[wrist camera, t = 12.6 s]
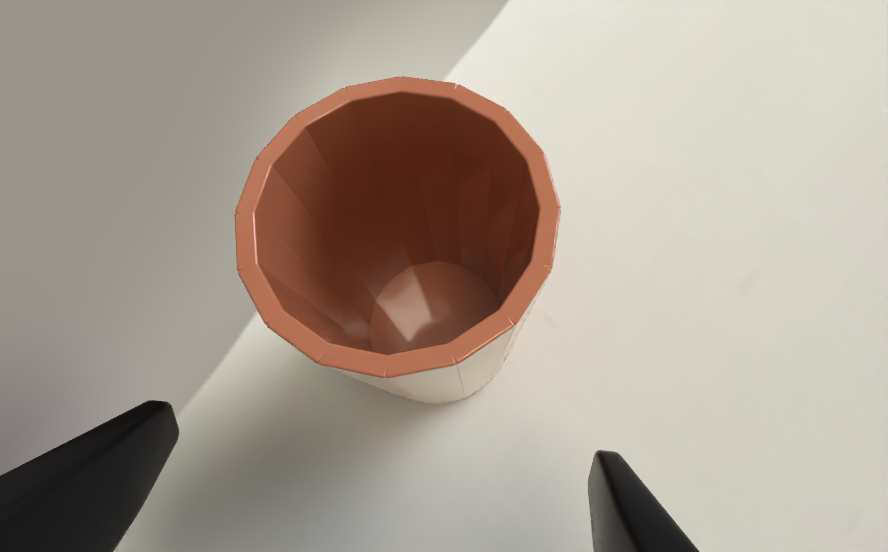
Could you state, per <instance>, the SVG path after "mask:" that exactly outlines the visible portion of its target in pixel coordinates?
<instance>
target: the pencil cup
mask: <svg viewBox="0 0 888 552" xmlns="http://www.w3.org/2000/svg"><path fill="white" fill-rule="evenodd" d="M560 213H561V210H560V203H559V200H558V196H557V193H556V190H555V186H554V183H553V179H552V176H551V173H550V169H549V166H548V163H547V159H546V156H545V154H544V153H543V150H542V149H541V148H540V147H539V146H538V145H537V143H536V142H535V141H534V140H533V139H532V138H531V136H530V135H529V134H528V133H527V132H526V131H525V129H524V128H523V127H522V126H521V125H520V124H519V122H518V121H517V120H516V119H515V118H514V117H513V115H512V114H511V113H510V112H509V111H507V109H505V108H504V107H502V106H500V105H498V104H496V103H494V102H492V101H490V100H488V99H486V98H484V97H482V96H480V95H478V94H477V93H475V92H473V91H471V90H469V89H467V88H465V87H463V86H461V85H457V84H456V83H449V82H441V81H434V80H426V79H419V78H411V77H404V76H403V77H394V78H389V79H384V80H379V81H374V82H368V83H363V84H359V85H353V86H348V87H346V88H342V89H340V90H339V91H337V92H335V93H333V94H332V95H330V96H328V97H326V98H324V99H322V100H321V101H319V102H317V103H315V104H313V105H312V106H310V107H308V108H307V109H305V110H303V111H301V112H299V113H297V114H296V115H295V117H292V118H291V119H290V120H289V121H288V123H287V124H286V125H285V126H284V127H283V128H282V129H281V130H280V131H279V133H278V134H277V135H276V136H275V137H274V138H273V139H272V140H271V142H270V143H269V144H268V145H267V146H266V147H265V148H264V149H263V151H262V152H261V153H260V154H259V155H258V156H257V158H256V160H255V161H254V164H253V166H252V169H251V171H250V174H249V176H248V179H247V182H246V184H245V187H244V190H243V192H242V195H241V197H240V200H239V203H238V206H237V208H236V214H235V231H236V251H237V252H236V254H237V270H238V274H239V276H240V278H241V280H242V282H243V283H244V285H245V287H246V289H247V291H248V293H249V295H250V297H251V299H252V300H253V302H254V304H255V306H256V308H257V310H258V312H259V314H260V316H261V318H262V319H263V321H264V323H265V324H266V325H267V327H268V328H270V329H271V330H272V331H274V332H275V333H276V334H278V335H279V336H280V337H282V338H283V339H284V340H286V341H287V342H288V343H290V344H291V345H292V346H294V347H295V348H296V349H298V350H299V351H300V352H302V353H303V354H305V355H306V356H307V357H309V358H310V359H311V360H313V361H314V362H315V363H317V364H320V365H322V366H324V367H327V368H329V369H332V370H335V371H337V372H340V373H342V374H345V375H347V376H350V377H352V378H355V379H357V380H360V381H362V382H365V383H368V384H370V385H373V386H375V387H378V388H380V389H383V390H385V391H388V392H390V393H393V394H395V395H398V396H401V397H403V398H406V399H411V400H415V401H419V402H424V403H429V404H441V403H449V402H454V401H457V400H461V399H464V398H467V397H468V396H470V395H472V394H474V393H475V392H477V391H479V390H480V389H481V388H482V387H484V386H485V385H486V384H487V383H489V382H490V381H491V380H492V379H493V378H494V376H495V375H496V373H497V372H498V370H499V369H500V367H501V365H502V364H503V362H504V361H505V359H506V357H507V356H508V354H509V352H510V350H511V348H512V346H513V344H514V342H515V340H516V339H517V337H518V335H519V333H520V331H521V329H522V327H523V325H524V323H525V321H526V319H527V317H528V315H529V313H530V311H531V309H532V307H533V306H534V304H535V302H536V300H537V298H538V296H539V294H540V292H541V290H542V288H543V286H544V284H545V282H546V280H547V278H548V276H549V274H550V272H551V269H552V267H553V261H554V254H555V247H556V240H557V234H558V227H559V220H560Z"/></svg>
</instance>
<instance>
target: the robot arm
mask: <svg viewBox="0 0 888 552" xmlns="http://www.w3.org/2000/svg"><path fill="white" fill-rule="evenodd" d="M178 436H179V428H178V424H177V421H176V418H175V415H174V411H173V408H172V406H171V404H169V403H168V402H163V401H153V400H152V401H147V402H145V403H143V404H141V405H139V406H137V407H135V408H133V409H131V410H129V411H127V412H125V413H123V414H121V415H119V416H117V417H115V418H113V419H111V420H109V421H107V422H105V423H103V424H101V425H99V426H98V427H96V428H94V429H92V430H90V431H88V432H86V433H84V434H82V435H80V436H78V437H76V438H74V439H72V440H70V441H68V442H66V443H64V444H62V445H60V446H58V447H56V448H54V449H52V450H50V451H48V452H47V453H44V454H42V455H41V456H39V457H37V458H35V459H33V460H31V461H29V462H27V463H25V464H23V465H21V466H19V467H17V468H15V469H13V470H11V471H9V472H7V473H5V474H3V475H1V476H0V552H113V551H114V550H115V548H116V547H117V545H118V544H119V542H120V540H121V539H122V537H123V536H124V534H125V533H126V531H127V530H128V528H129V527H130V525H131V524H132V522H133V521H134V519H135V517H136V516H137V514H138V512H139V511H140V509H141V508H142V506H143V504H144V502H145V500H146V499H147V497H148V495H149V493H150V491H151V489H152V487H153V486H154V484H155V482H156V480H157V478H158V476H159V474H160V472H161V471H162V469H163V467H164V465H165V463H166V461H167V459H168V457H169V455H170V454H171V452H172V450H173V448H174V446H175V444H176V442H177V440H178ZM588 494H589V505H590V516H591V527H592V538H593V548H594V552H699V551H698V549H697V548H696V547H695V546H694V544H693V543H692V542H691V541H690V540H689V538H688V537H687V536H686V535H685V533H684V532H683V531H682V530H681V529H680V527H679V526H678V525H677V524H676V522H675V521H674V520H673V519H672V518H671V516H670V515H669V514H668V513H667V511H666V510H665V509H664V508H663V507H662V505H661V504H660V503H659V502H658V500H657V499H656V498H655V497H654V496H653V494H652V493H651V492H650V491H649V489H648V488H647V487H646V486H645V485H644V483H643V482H642V481H641V480H640V478H639V477H638V476H637V475H636V474H635V472H634V471H633V470H632V469H631V467H630V466H629V465H628V464H627V463H626V461H625V460H624V459H623V458H622V457H621V455H620V454H618V453H617V452H612V451H603V450H598V451H596V453H595V455H594V459H593V463H592V467H591V471H590V474H589V479H588Z"/></svg>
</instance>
